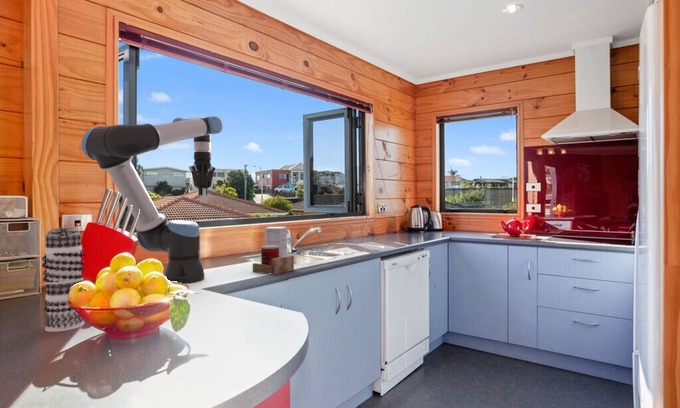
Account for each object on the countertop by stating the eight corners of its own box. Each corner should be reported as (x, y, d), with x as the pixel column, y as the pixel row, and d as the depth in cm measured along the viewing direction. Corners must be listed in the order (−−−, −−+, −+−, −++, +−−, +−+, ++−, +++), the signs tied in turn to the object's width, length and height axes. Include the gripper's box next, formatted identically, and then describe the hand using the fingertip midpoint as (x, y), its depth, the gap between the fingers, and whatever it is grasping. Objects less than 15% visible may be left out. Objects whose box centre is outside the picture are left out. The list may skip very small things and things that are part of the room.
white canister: (288, 257, 219) (287, 226, 219) (282, 260, 210) (282, 227, 209) (271, 257, 221) (270, 226, 220) (264, 260, 212) (264, 227, 211)
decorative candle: (94, 321, 108) (93, 227, 108) (69, 332, 99) (67, 230, 98) (61, 320, 109) (60, 227, 108) (33, 332, 99) (31, 230, 99)
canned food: (281, 269, 184) (281, 245, 183) (276, 272, 176) (275, 247, 176) (264, 269, 185) (264, 245, 185) (259, 272, 177) (258, 247, 177)
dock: (274, 274, 172) (273, 259, 171) (252, 271, 179) (252, 256, 179) (293, 270, 182) (293, 255, 182) (272, 267, 189) (272, 253, 189)
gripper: (209, 153, 197) (209, 202, 197) (185, 151, 186) (185, 202, 186) (219, 152, 192) (219, 202, 193) (195, 149, 182) (195, 202, 182)
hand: (202, 202), depth 190 cm, fingers closed
